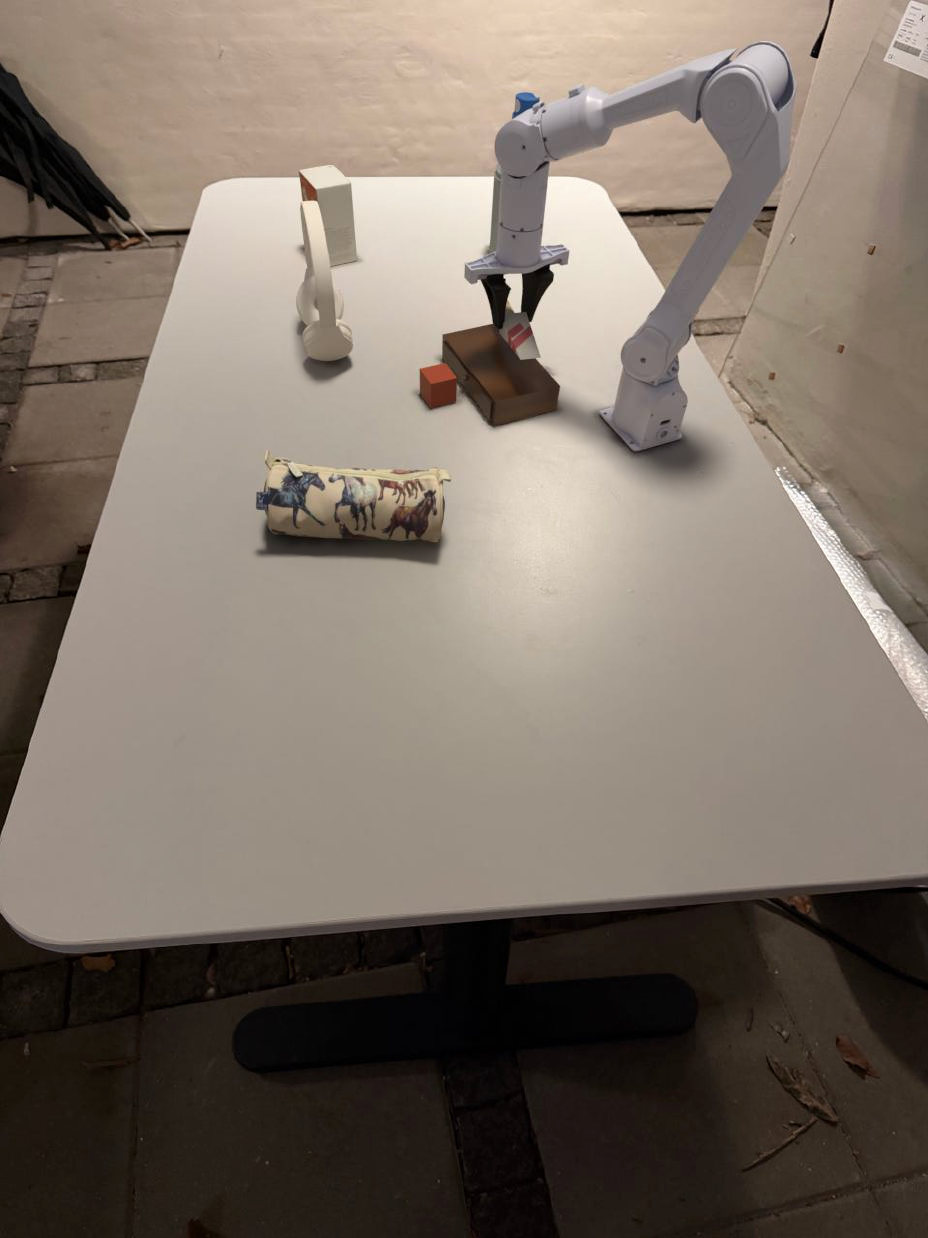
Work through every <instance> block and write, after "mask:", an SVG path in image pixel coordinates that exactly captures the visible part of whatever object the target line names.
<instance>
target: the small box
mask: <svg viewBox="0 0 928 1238" xmlns="http://www.w3.org/2000/svg"><path fill="white" fill-rule="evenodd" d="M298 176H299V184H300V192H301V202H303V201H317V203H318V205H319V209H320V213H321V217H322V222H323V227H324V232H325V238H326V243H327V249H328V253H329V260H330V267H334V266H338V265H345V264H347V263H348V264H349V263H352V262H356V261H357V260H358V254H357V241H356V229H355V216H354V203H353V190H352V189H353V188H352V182H351V181H350V180H349V179H348V178H347V177H346V175H344V173H343V172H341V171H340V170H339V169H338V168H337V166H335V165H334V164H327V165H320V166H314V167H308V168H304V169H299V170H298Z"/></svg>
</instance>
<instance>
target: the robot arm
mask: <svg viewBox="0 0 928 1238" xmlns="http://www.w3.org/2000/svg"><path fill="white" fill-rule="evenodd" d="M738 50H739V49H738V47H734V48H729V49H724V50H721V51H718V52H715V53H711V54H709V55H705V56H703V57H699V58H695V59H693V60H690V61H687V62H685V63H683V64H681V65H677V66H676V67H674V68H671V69H669V70H666V71H664V72H662V73H659V74H657V75H654V76H652V77H650V78H649V77H648V78H647V79H645V80H643V81H640V82H638V83H635V84H633V85H630V86H627V87H625V88H623V89H620V90H618V91H616V92H614V93H611V94H608V92H605V91H603V90H602V89H600V88H599V87H596V86H591V87H588V88H585V85H584V83H581V84H577V85H575V86H573V87H572V88H570V89H569V90H568V91H567V92H568V95H567V96H565V97H562V98H559V99H557V100H554V101H552V102H549V103H546V102H545V101H544V100H541V101H539V103H536V104H535V105H533V107H532V108H531V109H528V110H526V111H525V112H523V113H521V114H520V115H518V116H517V117H515V118H514V119H512V118H511V119H510V120H509V121H507V122H506V123H505V124H503V125H502V127H501V128H500V129H499V130H498V132H497V134H496V136H495V139H494V154H495V158H496V161H497V164H498V163H499V165H500V166H501V168H502V171H501V186H500V202H499V218H498V235H497V251H495V252H493V253H490V254H489V253H488V254H486V255H484V256H482V257H479V258H477V259H475V260H472V261H469V262H468V261H467V262H465V263H464V274H463V275H464V276H463V277H464V279H465V280H466V281H467V282H468V283H469V284H470V285H474V284H477V283H478V282H479V281H480V282H481V284H482V286H483V289H484V292H485V294H486V297H487V300H488V301H487V302H488V304H489V310H490V313H491V321H492V324H494V325H495V326H496V327H497V328H498V329H503V322H505V310H506V304H507V300H508V301H509V296H510V293H511V290H512V287H510V285H508V284H507V282H506V280H507V279H506V278H505V275H521V280H522V281H521V282H522V283H521V286H522V287H521V288H522V289H521V290H522V291H521V300H520V301H521V302H520V303H521V304H520V312H526V313H527V316H528V319H529V322H530V323H532V322H533V319H534V317H535V314H536V311H537V309H538V307H539V304H540V302H541V300H542V298H543V296H544V295H545V293H546V291H547V290H548V289H549V287H550V286H551V285H552V284H553V282H554V279H555V274H554V272H553V271H552V270H551V266H553V265H554V266H555V265H559V266H566V265H568V264H569V257H570V249H568V247H566V246H565V245H564V244H563V243H561V244H552V245H542V240H543V231H544V221H545V213H546V203H547V194H548V193H547V192H548V181H549V171H550V163H551V162H552V163H555V162H559V161H562V160H565V159H568V158H571V157H573V156H577V155H580V154H583V153H586V152H590V151H592V150H596V149H598V148H601V147H604V146H605V145H606V144H607V143H608V142H609V140H610V138H611V136H612V134H613V131H614V130H615V129H618V128H622V127H624V126H629V125H632V124H635V123H638V122H642V121H646V120H648V119H652V118H655V117H658V116H662V115H665V114H669V113H672V112H678V113H679V114H681V115H682V116H683V117H685V118H686V119H687V120H688V121H689V122H690V123H692V124H696V123H698V122H699V120H701V119H702V122H703V124H704V126H705V128H706V130H707V131H708V132H709V134H710V135H711V136H712V138H713V139H714V141H715V143H716V144H717V145H718V147H719V148H720V149H721V151H722V152H723V154H724V155H725V157H726V160H727V163H728V166H729V170H730V173H731V175H730V178H729V180H728V182H727V183H726V185H725V187H724V188H723V191H722V192H721V194H720V195H719V197H718V199H717V201H716V202H715V204H714V206H713V208H712V210H711V211H710V213H709V214H708V216H707V218H706V220H705V221H704V223H703V225H702V227H701V228H700V230H699V232H698V234H697V235H696V237H695V239H694V241H693V242H692V244H691V246H690V247H689V249H688V251H687V252H686V254H685V256H684V258H683V260H682V262H680V263H681V264H679V267H678V268H677V270H676V272H675V274H674V275H673V277H672V278H671V281H670V282H669V284H668V286H667V288H666V289H665V291H664V293H663V294H662V296H661V298H660V300H659V301H658V303H657V304H656V306H655V307H654V308H653V309H652V310H651V311H650V312H649V314H648V315H647V316H646V318H645V320H644V321H643V322H642V323H641V325H639V327H638V328H637V329H636V331H635V332H634V333H633V334H632V335H631V336H630V337H629V338H627V340H626V341H625V342H624V343H623V345H622V347H621V350H620V361H621V365H622V369H621V372H620V373H621V374H620V378H619V382H618V387H617V392H616V395H615V401H614V405H613V406H611V407H607V408H603V409H601V410H599V416H600V417H601V418H602V419H603V420H604V421H605V422H606V423H607V424H608V426H610V428H611V429H612V430H613V431H614V432H615V433H616V434H617V435H618V436H619V437H620V438H621V439H622V441H624V443H625V444H626V445H627V446H628V448H629V449H631V450H632V451H633V452H640V451H643V450H647V449H650V448H653V447H656V446H660V445H664V444H667V443H671V442H674V441H678V440H681V439H682V438H683V434H682V433H681V432H680V430H681V427H682V423H683V419H684V417H685V413H686V410H687V407H688V402H689V401H688V400H689V399H688V395H687V393H686V391H684V389H683V387H682V386H681V383H680V379H679V371H680V359H679V355H678V354H680V352H681V350H682V349H683V348H684V347H685V346H686V345H687V344H688V343H689V341H690V339H691V337H692V334H693V325H694V322H695V319H696V317H697V315H698V313H699V312H700V308H701V306H702V305H703V303H704V302H705V300H706V299H707V297H708V296H709V294H710V293H711V291H712V289H713V288H714V286H715V284H716V283H717V281H718V280H719V278H720V277H721V275H722V274H723V272H724V270H725V268H726V267H727V265H728V264H729V262H730V260H731V259H732V258H733V256H734V255H735V253H736V251H737V249H738V248H739V246H740V245H741V243H742V242H743V240H744V239H745V237H746V235H747V234H748V233H749V231H750V229H751V227H753V224H754V223H755V221H756V219H757V218H758V217H759V215H760V213H761V211H762V210H763V209H764V207H765V206H766V204H767V202H768V201H769V199H770V197H772V195H773V193H774V191H775V189H777V186H778V185H779V184H780V182H781V180H782V179H783V177H784V175H785V174H786V171H787V169H788V166H789V164H790V163H789V162H790V152H791V151H790V150H791V140H792V139H791V138H792V124H793V123H792V122H793V109H794V105H795V100H796V95H797V91H798V84H797V81H796V77H795V74H794V70H793V67H792V64H791V60H790V58H789V55H788V53H787V52H786V51H785V50H784V48H783V47H781V46H780V45H779V44H778V43H776V42H773V41H770V40H769V41H768V40H760V41H756V42H753V43H751V44H749V45H746V47H744V48H743V49H741V51H740V52H739V53H738V54H736V56H735V58H734V59H732V60H730V59H731V58H732V57H733V55H734V54H735V53H736V52H737V51H738Z"/></svg>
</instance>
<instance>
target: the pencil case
mask: <svg viewBox="0 0 928 1238" xmlns="http://www.w3.org/2000/svg"><path fill="white" fill-rule="evenodd" d="M264 463H265V465H266V466H267V468H268V473H267V476H266V479H265V481H264V482H265V483H264V486H263V491H256V497H255V498H256V499H255V500H256V501H255V509H256V510H258V511H264V513H265V515H266V522H267V523H266V524H267V527H268V529H269V531H270V532H271V533H272V534H273V535H285V536H286V535H289V536H293V537H298V538H299V537H300V538H320V539H321V538H322V539H348V540H363V541H369V540H382V541H383V540H384V541H391V540H392V541H397V542H403V541H416V540H421V541H428V542H431V543H437V542H438V541H439V539H440V538H441V535H442V529H443V525H444V519H445V513H446V512H445V511H446V501H445V496H444V481H445V482H448V483H451V482H452V476H451V473H450V472H449V471H448V469H443V468H438V467H431V468H429V469H427V470H420V469H413V470H411V469H410V470H406V469H396V468H395V469H394V468H393V469H392V468H391V469H390V468H389V469H373V468H359V467H351V468H335V467H326V466H325V467H324V466H321V465H312V464H305V463H299V462H298V463H297V462H294V461H292V460H291V459H290V458H287V457H285V456H284V457H275V458H273V456H272V454H271V453H270V450H269V449H266V451H265V455H264Z"/></svg>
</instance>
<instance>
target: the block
mask: <svg viewBox="0 0 928 1238" xmlns="http://www.w3.org/2000/svg"><path fill="white" fill-rule="evenodd" d="M457 389H458V378H457V377H456V376H455V374H454V373H453V372H452V371H451V369H450V368H449V367H448V365H447V364H446V363H445V362H442V363H439V364H434V365H430V366H426V367H422V368H419V394H420V396H421V397H422V398H423V399H424V401H425V402H426V404H427V405H428V407H429V408H430V409H434V408H437V407H442V406H446V405H450V404H453V403H454V404H455V403H457Z"/></svg>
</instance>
